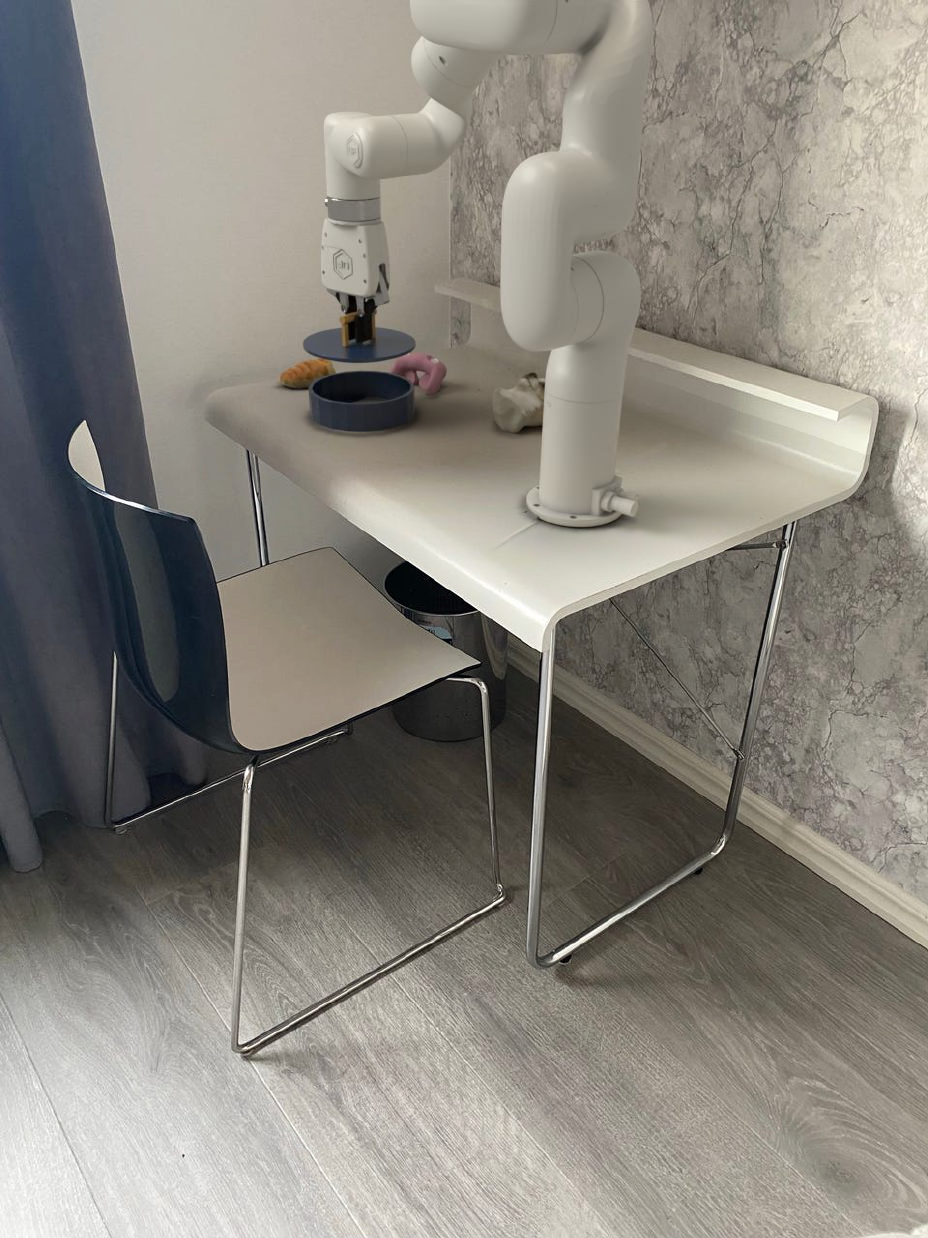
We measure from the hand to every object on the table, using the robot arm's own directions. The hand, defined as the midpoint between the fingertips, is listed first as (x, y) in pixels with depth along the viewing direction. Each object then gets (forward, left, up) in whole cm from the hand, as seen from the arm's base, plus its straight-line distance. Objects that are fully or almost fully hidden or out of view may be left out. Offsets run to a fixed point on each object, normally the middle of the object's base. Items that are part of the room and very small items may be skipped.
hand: (359, 338), depth 151 cm
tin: (0, 0, -12) cm, 12 cm away
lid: (0, 0, -1) cm, 1 cm away
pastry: (+18, -6, -12) cm, 23 cm away
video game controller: (+2, -15, -12) cm, 20 cm away
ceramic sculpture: (-23, -13, -12) cm, 30 cm away
